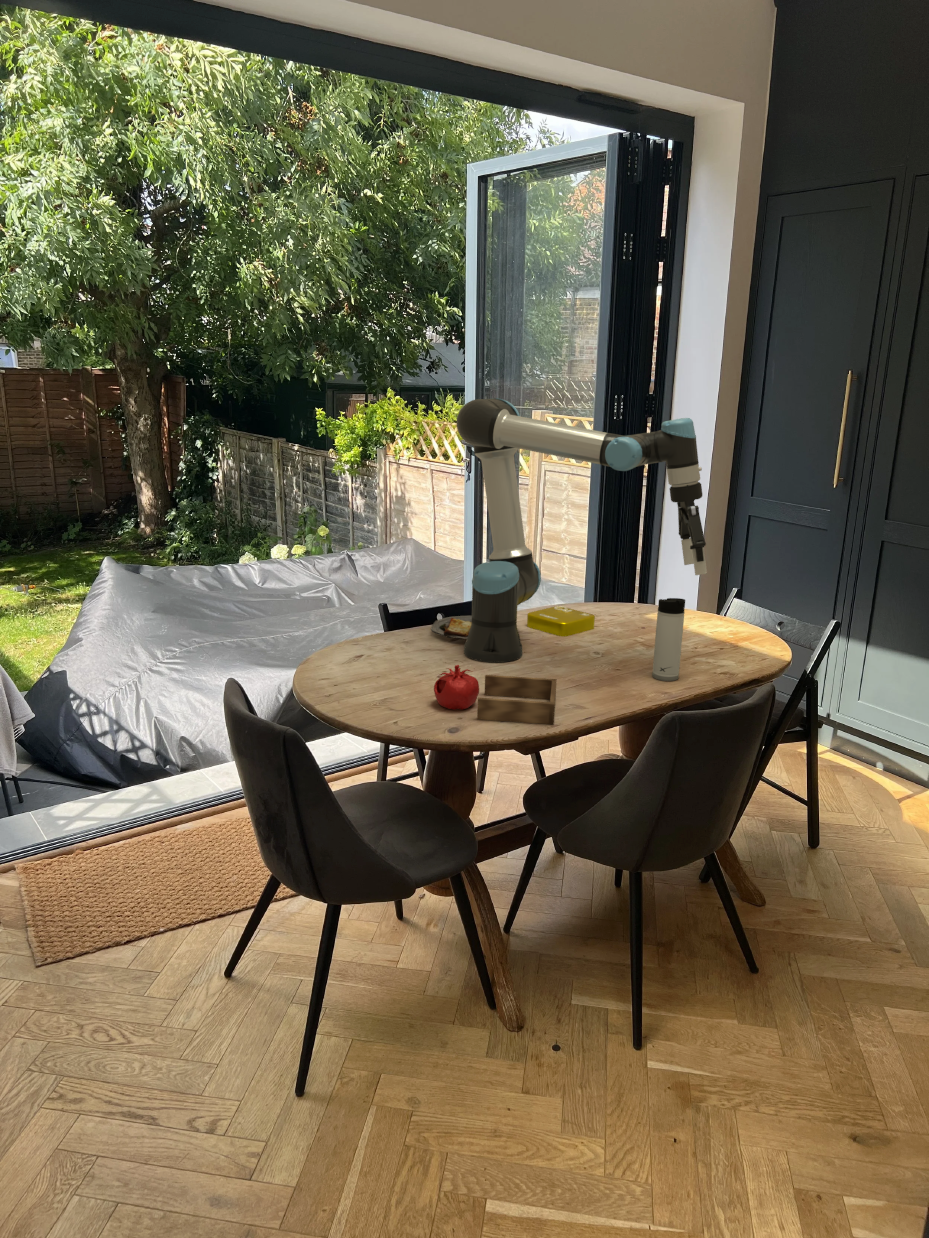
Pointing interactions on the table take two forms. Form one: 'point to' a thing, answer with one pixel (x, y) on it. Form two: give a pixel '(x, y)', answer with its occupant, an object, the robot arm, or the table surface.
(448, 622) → the food plate
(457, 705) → the pomegranate
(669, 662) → the travel mug
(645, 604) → the table surface
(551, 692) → the box
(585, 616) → the element tile
